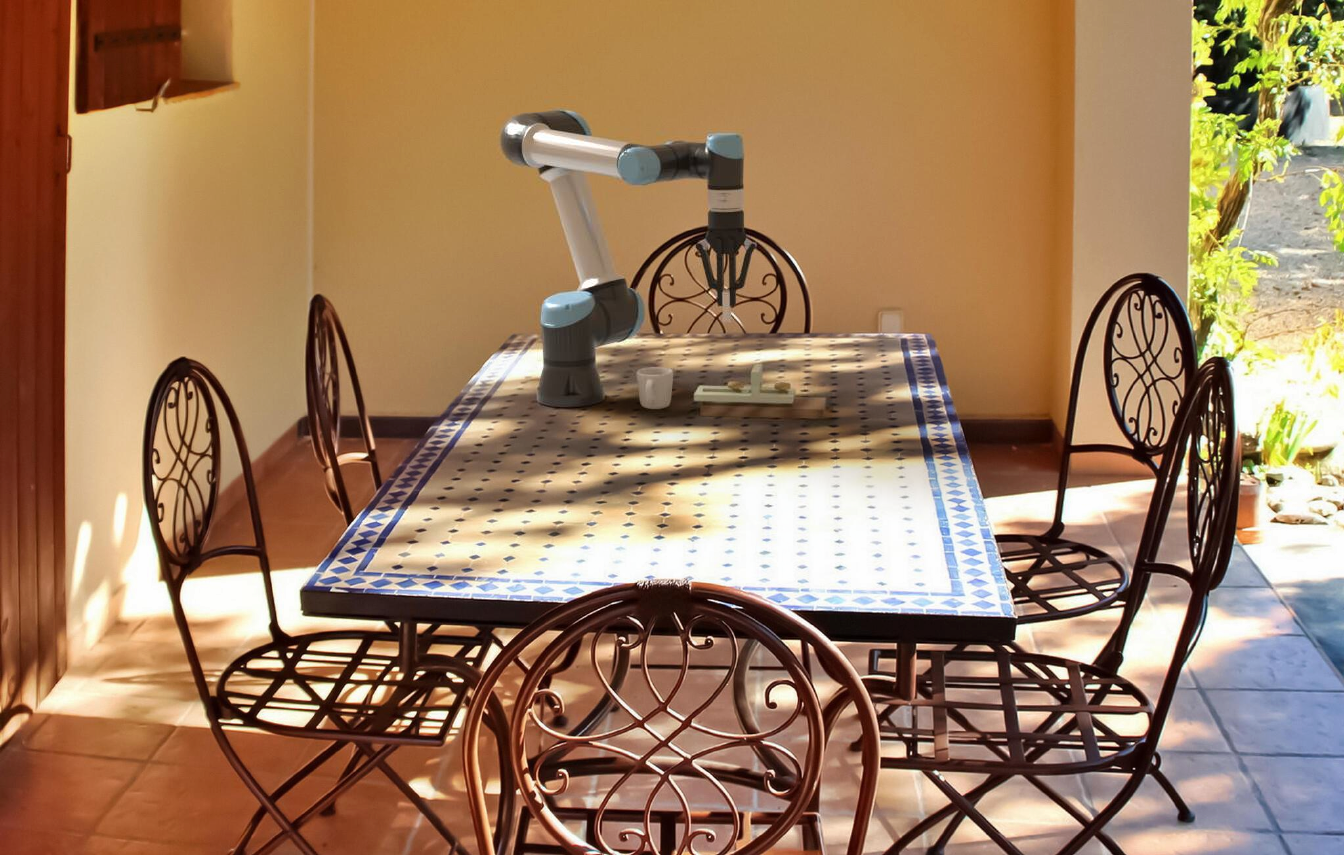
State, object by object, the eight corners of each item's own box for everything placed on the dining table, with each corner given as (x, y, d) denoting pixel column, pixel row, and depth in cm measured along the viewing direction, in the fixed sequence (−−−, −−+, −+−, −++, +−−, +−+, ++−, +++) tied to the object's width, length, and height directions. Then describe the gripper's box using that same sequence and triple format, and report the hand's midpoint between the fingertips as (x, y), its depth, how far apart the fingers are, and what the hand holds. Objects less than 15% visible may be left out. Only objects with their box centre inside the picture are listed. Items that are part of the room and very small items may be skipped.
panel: (693, 400, 306) (693, 370, 304) (699, 391, 314) (698, 362, 312) (792, 403, 303) (792, 372, 301) (795, 394, 310) (795, 364, 309)
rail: (700, 415, 306) (700, 388, 304) (706, 403, 315) (706, 376, 314) (823, 418, 302) (823, 391, 300) (825, 406, 311) (826, 379, 309)
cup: (667, 415, 306) (666, 379, 304) (630, 414, 308) (629, 377, 306) (677, 402, 316) (676, 367, 314) (641, 401, 318) (640, 366, 316)
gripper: (692, 211, 295) (693, 324, 302) (755, 211, 293) (755, 325, 300) (697, 207, 303) (698, 317, 309) (759, 207, 300) (759, 318, 307)
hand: (726, 321), depth 304 cm, fingers closed
